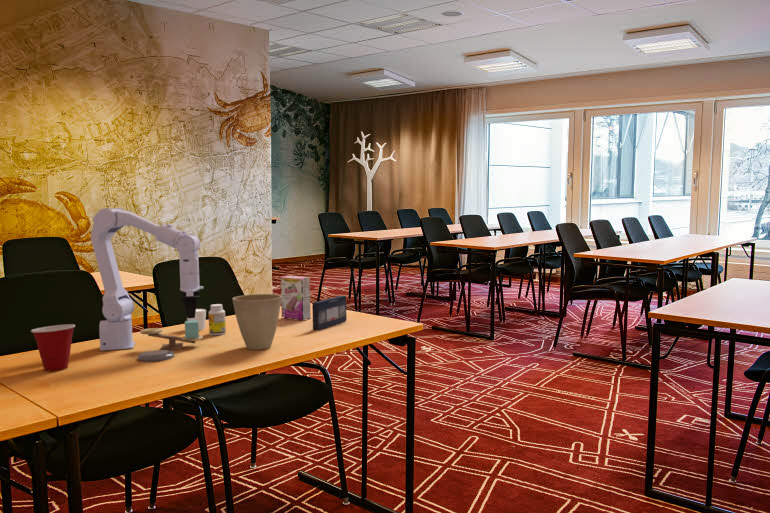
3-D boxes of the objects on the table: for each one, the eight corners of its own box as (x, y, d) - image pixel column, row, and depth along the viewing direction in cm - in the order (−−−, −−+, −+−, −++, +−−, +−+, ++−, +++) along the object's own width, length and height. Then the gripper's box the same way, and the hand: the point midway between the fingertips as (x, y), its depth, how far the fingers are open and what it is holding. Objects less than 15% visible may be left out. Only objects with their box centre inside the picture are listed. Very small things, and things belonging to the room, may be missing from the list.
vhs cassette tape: (318, 330, 217) (317, 303, 216) (311, 330, 218) (310, 302, 218) (347, 321, 232) (347, 295, 232) (341, 321, 234) (341, 295, 233)
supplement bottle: (209, 333, 215) (207, 304, 214) (225, 331, 217) (224, 303, 216) (209, 336, 210) (208, 306, 209) (226, 335, 211) (225, 305, 211)
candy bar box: (280, 318, 241) (279, 277, 239) (289, 316, 245) (288, 275, 243) (303, 321, 235) (302, 278, 233) (311, 318, 239) (310, 277, 238)
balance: (140, 352, 188) (139, 332, 187) (142, 348, 194) (141, 328, 193) (203, 348, 193) (202, 328, 192) (203, 343, 199) (202, 324, 198)
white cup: (203, 331, 218) (202, 311, 218) (184, 331, 219) (183, 312, 218) (209, 327, 225) (208, 308, 225) (190, 327, 225) (189, 308, 225)
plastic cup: (67, 361, 178) (64, 320, 177) (84, 367, 171) (82, 325, 170) (26, 369, 170) (23, 327, 169) (43, 376, 163) (40, 331, 162)
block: (185, 338, 192) (184, 323, 192) (185, 336, 196) (185, 320, 195) (198, 337, 193) (198, 322, 193) (198, 335, 197) (198, 320, 197)
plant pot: (290, 343, 198) (289, 294, 196) (269, 354, 184) (268, 301, 182) (248, 340, 202) (247, 292, 200) (225, 351, 188) (223, 300, 186)
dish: (136, 363, 175) (136, 359, 175) (140, 354, 185) (139, 351, 185) (173, 360, 178) (173, 356, 178) (175, 352, 188) (174, 348, 188)
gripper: (202, 275, 187) (204, 319, 188) (202, 270, 201) (204, 311, 202) (178, 276, 185) (180, 320, 186) (180, 271, 199) (181, 312, 200)
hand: (191, 315), depth 194 cm, fingers open, 7 cm apart
